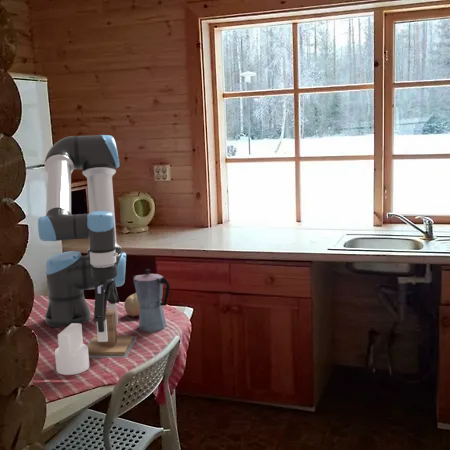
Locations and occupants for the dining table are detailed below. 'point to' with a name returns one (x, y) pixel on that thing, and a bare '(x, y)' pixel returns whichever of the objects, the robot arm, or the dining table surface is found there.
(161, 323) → the moka pot
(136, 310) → the fruit
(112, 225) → the robot arm
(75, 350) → the cylinder with rectangular tab
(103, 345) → the walnut lid
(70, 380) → the dining table surface
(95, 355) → the rubber mat
